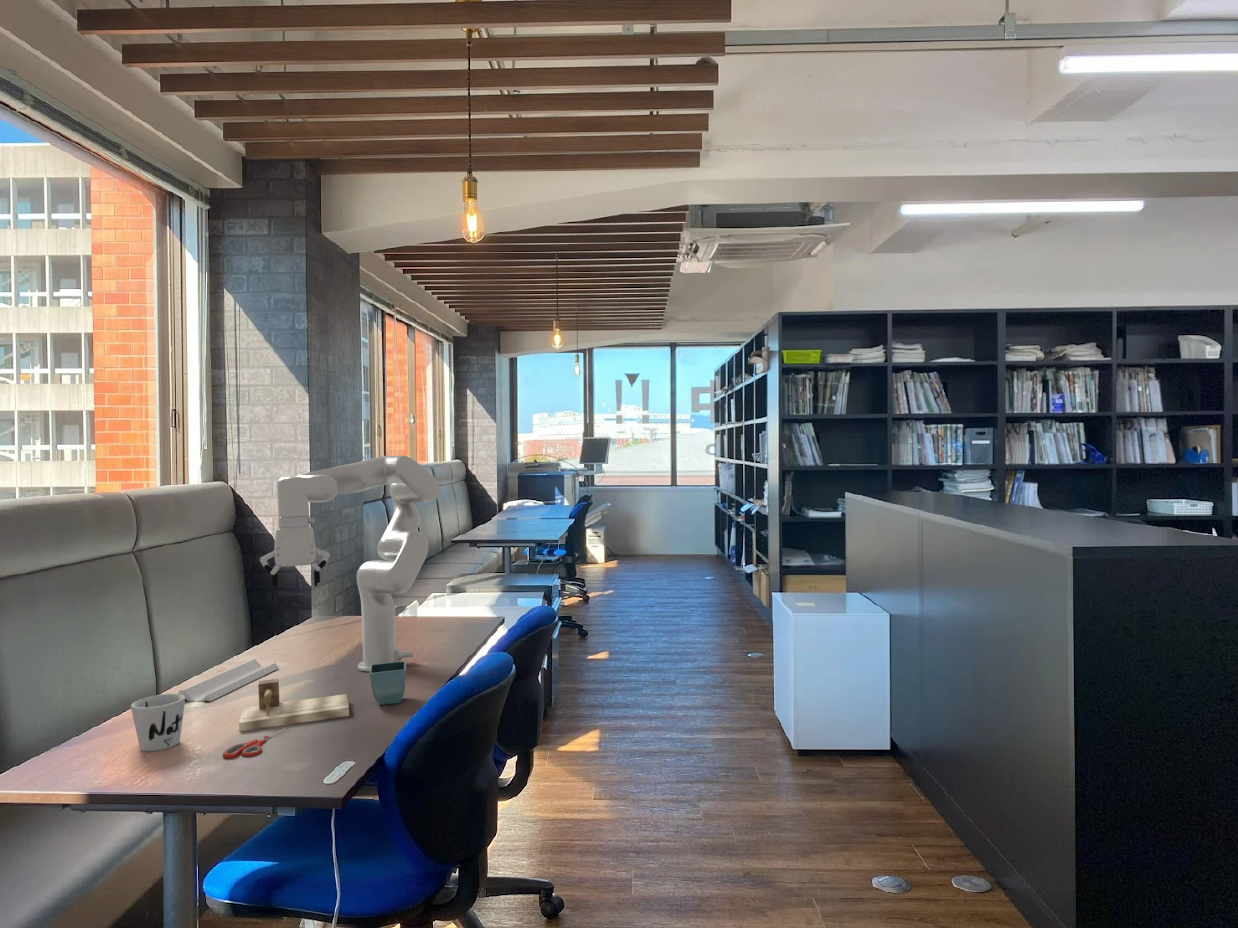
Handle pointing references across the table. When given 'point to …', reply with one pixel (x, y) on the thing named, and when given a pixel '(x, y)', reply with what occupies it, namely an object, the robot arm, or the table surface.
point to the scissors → (248, 747)
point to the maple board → (294, 712)
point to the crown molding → (226, 681)
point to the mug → (158, 721)
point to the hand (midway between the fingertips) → (296, 587)
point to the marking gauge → (268, 694)
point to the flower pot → (388, 682)
